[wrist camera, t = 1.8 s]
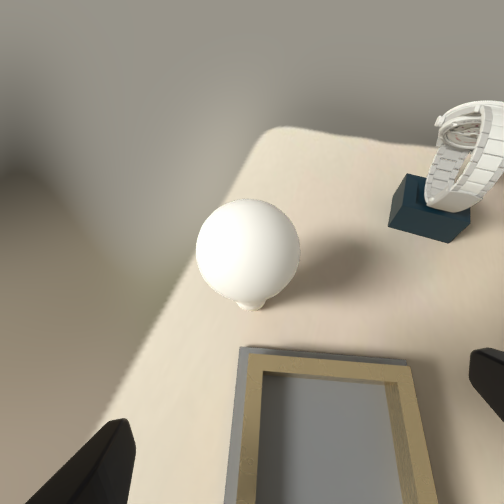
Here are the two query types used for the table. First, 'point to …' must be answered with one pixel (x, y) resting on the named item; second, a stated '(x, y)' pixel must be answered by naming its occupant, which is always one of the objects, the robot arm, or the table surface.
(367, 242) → the table surface
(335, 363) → the socket plate
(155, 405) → the table surface
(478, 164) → the watch
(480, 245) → the table surface
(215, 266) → the lightbulb
